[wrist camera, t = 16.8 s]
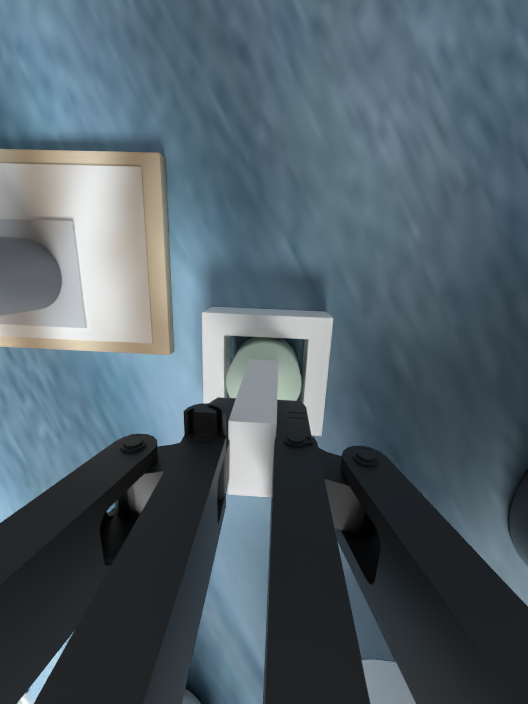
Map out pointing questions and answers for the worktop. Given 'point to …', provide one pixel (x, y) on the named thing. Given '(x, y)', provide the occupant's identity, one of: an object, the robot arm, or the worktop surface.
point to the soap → (27, 698)
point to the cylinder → (386, 683)
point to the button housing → (274, 325)
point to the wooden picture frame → (92, 248)
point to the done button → (267, 351)
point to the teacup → (189, 698)
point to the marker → (27, 276)
